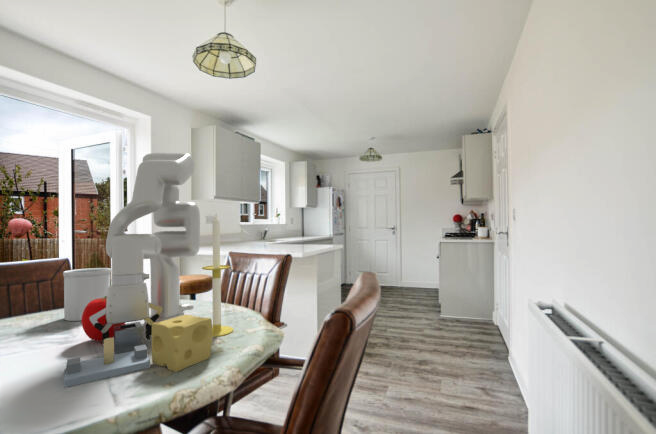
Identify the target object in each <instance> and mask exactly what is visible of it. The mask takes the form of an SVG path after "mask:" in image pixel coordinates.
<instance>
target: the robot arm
mask: <svg viewBox="0 0 656 434" xmlns="http://www.w3.org/2000/svg"><path fill="white" fill-rule="evenodd" d="M194 171H195V161H194V158H193V156H191V154H189V153H185V152H184V153H183V152H152V153H146V154H145V155H144V156H143V158H142V162H140V164H139V165H138V167H137V172H136V176H135V181H134V186H133V191H132V198H131V201H130V202H129V203H128V204H126V205H125V206H124V207H123V208H122V209H120V210H119V211H118V212H117V214H116V215H114V217H113V218H112V220H111V222H110V224H109V227H108V231H107V235H106V241H105V242H106V243H105V251H106V254H107V255H108V257H109V258H110V259H111V285H110V286H109V287H108V291H107V298H106V308H105V309H103V310H101V311H99V312H98V313H96V314H94V315H92V316H91V317H90V321H91V323H92V324H93V325H94V327H95V328H96V329H98V330H99V331H101V332H102V341H101V343H102V345H103V346H104V339H107V338H109V330H108V329H109V328H110V327H111V326H112V325H113V324H120V323H125V324H127V323H134V322H140V321H143V320H144V321H145V322H146V324H145V339H146V340H147V341H150V339H151V337H152V324H153V323H156V322H160V321H165V320H168V319H172V318H175V317H179V316H182V315H185V311H191V310H194V303H191V304H187V303H186V304H181V303H180V301H181V300H180V294H181V292H180V288H181V287H180V285H181V284H180V283H181V282H180V267H179V265H178V263H177V262H176V261H175V260H174V258H183V257H185V258H186V257H194V256H197V254H198V253H199V251H200V247H201V246H200V241H201V240H200V239H201V236H200V235H201V213H200V208H199V206H198V204H196V203H195V202H192V201H180V189H179V186H181V185H184V184H185V183H186V182H187V181H188V180H189V179H190V178H191V177H192V175H193V173H194ZM152 213H153V223H154V224H155V226H156V227H159V228H185V230H163V231H162V230H161V231H156V232H153V233H125V231H126V230H127V228H128V227H129V226H130V225H131V224H132V223H134V222H135V221H136V220H138V219H141V218H143V217H145V216H147V215H150V214H152ZM144 260H149V262H150V263H149V265H150V274H149V273H145V272H144ZM148 279H150V298H149V293H148V287H147V283H146V282H145V281H146V280H148ZM149 299H150V301H149ZM105 314H106V320H107V322H106V323H105V324H104V325H102V324H101V323H99V322H98V320H97V319H98V318H100V317H101V316H103V315H105Z"/></svg>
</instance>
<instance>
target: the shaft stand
mask: <svg viewBox="0 0 656 434" xmlns="http://www.w3.org/2000/svg"><path fill="white" fill-rule="evenodd" d="M65 367H66V368H65V374H64V379H63V380H64V383H63V384H64V385H63V387H64V388H68V387H73V386H77V385H81V384H85V383H89V382H93V381H98V380H102V379H106V378H112V377H116V376H119V375H123V374H128V373H132V372H137V371H141V370H145V369H149V368H151V360H150V357H149V355H148V347H147V345H146V344H143V345H140V346H135V347H134V351H131V352H126V353H121V354H116V355H115V351H114V337H113V338H107V339H104V344H103V356H102V357H97V358H92V359H87V360H81V356H80V357H75V358H68V359H67V360H66V366H65Z"/></svg>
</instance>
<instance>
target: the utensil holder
mask: <svg viewBox="0 0 656 434" xmlns="http://www.w3.org/2000/svg"><path fill="white" fill-rule="evenodd" d="M111 274H112V267H111V268H110V267H94V268H90V267H89V268H79V269H78V268H77V269H70V270H65V271H63V272H62V275H63V284H64V285H63V291H64V292H63V294H64V295H63V296H64V297H63V299H64V301H63V311H64V320H65V321H69V322H82V315H83V312H84V309H85V307H86V306H87V304H88V303H89V302H91V301H92V300H94V299H99V298H104V297H105V296H107V291H108V287H109V286H111Z"/></svg>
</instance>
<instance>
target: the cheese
mask: <svg viewBox="0 0 656 434" xmlns="http://www.w3.org/2000/svg"><path fill="white" fill-rule="evenodd" d="M212 327H213V319H212V318H211V317H200V316H194V315H190V314H184V315H182V316H179V317H175V318H172V319H168V320H165V321H160V322H154V323H153V324H152V336H151V362H152V364H154V365H157V366H161V367H167V369H168V370H171V372H174V373H177V372H180V371H182V370H184V369H186V368H188V367H191V366H193V365H195V364H198V363H200V362H203V361H206V360H209V359H210V358H211V353H212V352H211V351H212V345H213V337H212V336H213V329H212Z"/></svg>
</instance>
